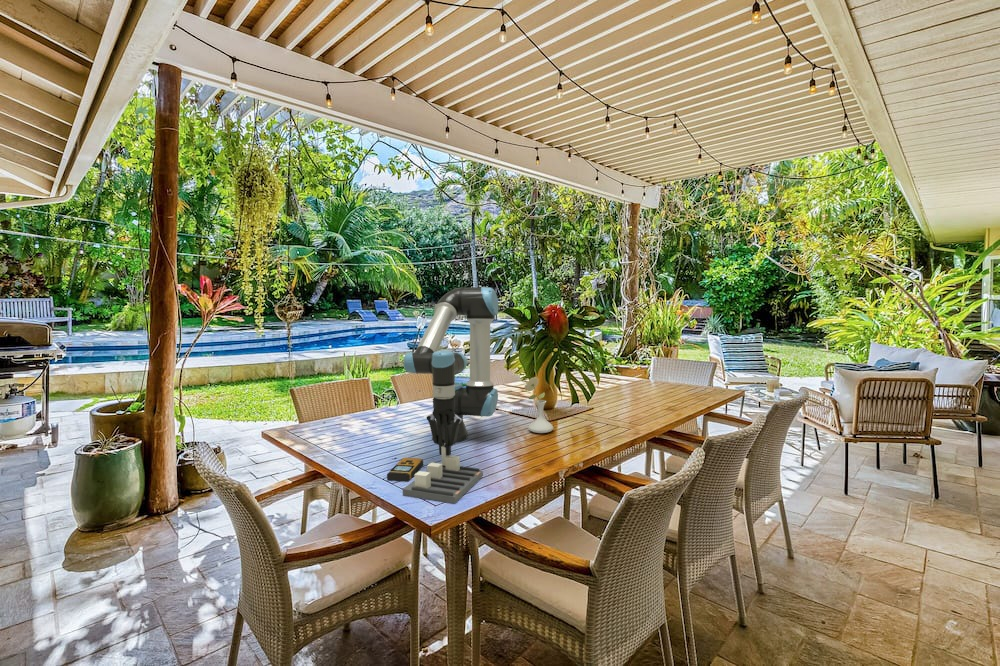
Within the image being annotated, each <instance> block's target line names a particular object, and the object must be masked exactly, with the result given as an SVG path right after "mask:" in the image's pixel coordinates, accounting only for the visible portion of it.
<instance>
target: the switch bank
mask: <svg viewBox="0 0 1000 666" xmlns="http://www.w3.org/2000/svg"><path fill="white" fill-rule="evenodd" d="M442 474H443V477H442V478H441V479H436V478H431V487H430V488H428V489H427V488H420V487H415V479H414V480H413V481H411V482H410V483H409V484H408V485H406V486H405V487H404V488H402V496H404V497H405V496H406V497H411V498H418V499H423V500H429V501H434V502H435V501H437V502H442V503H447V504H448V503H449V504H454V505H455V504H457V502H458V501H459V500H461V498H463V496H465V494H467V493H468V492H469V491H468V490H469V489H470V488H471V487H472V486H473V485H474V484H475V483H476V482H477V481H478V480H479V479H480V478H481V477H482V476H483V477H484V470H481V469H480V468H476V467H468V466H464V465H463V466H461V465H460V470H459V471H453V470H446V466H444V465H442ZM483 477H482V478H483ZM482 478H481V479H482ZM481 479H480V480H481ZM480 480H479V481H480ZM479 481H478V482H479ZM478 482H477V483H478ZM477 483H476V484H477ZM476 484H475V485H476ZM475 485H474V486H475ZM474 486H473V487H474ZM473 487H472V488H473ZM472 488H471V489H472ZM471 489H470V490H471ZM467 491H468V492H467Z"/></svg>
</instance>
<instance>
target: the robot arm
mask: <svg viewBox="0 0 1000 666" xmlns="http://www.w3.org/2000/svg"><path fill="white" fill-rule="evenodd" d="M435 304H436V305H435V307H434V309H433V310H434V314H433V315H432V318H431V320H430V322H429V323H428V326H427V328H426V330H425V332H424V334H423V335H422V338H421V340H420V341H419V342H418V346H417V347H416V349H415V351H411V352H407V353H406V354H405V356H404V357H403V368H404V370H405V371H406V372H407V373H408V374H409V373H410V374H416V375H417V374H425V375H427V374H429V375H432V376H431V377H432V396H433V398H432V407H433V410H432V412H431V414H429V415H427V416H426V420H427V421H428V423H429V427H430V428H429V429H430V431H431V440H432V441H433V443H434V445H435V444H436V445H438V448H439V449H438V451H439V452H438V453H439V456H441V464H442V465H444V466H446V465H445V458H446V457H448V456H449V455H450V456H452V455H451V454H452V446H454V445H455V444H457V443H461V442H463V441H465V440H467V439H468V431H467V428H466V425H465V422H464V416H468V417H469V416H473V417H481V418H482V417H491V416H493V414H494V413H495V412H496V409H497V405H498V400H499V393H498V389H497V388H494V387H495V386H494V383H493V382H492V381H491V324H492V322H493V321H494V320H495V316H497V315H498V314H499V310H500V309H499V301H498V296H497V293H496V290H495V289H494V288H493V287H489V286H478V287H477V286H476V287H474V286H473V287H455V288H453V289H451V290H449V291H448V292H447V293H445V294H444V295H443V296H441V298H440V299H439V300H438V301H437V303H435ZM457 316H465V317H466V321H467V322H468V323H469V379H468V380H469V381H468V382H466V384H465V387H463V384H462V383H457V382H456V381H455V380H456V379H455V378H456V375H458V374H460V373H462V372H463V371H465V369H466V367H467V365H468V362H467V361H468V360H467V358H466V355H464V354H463V353H461V352H455V351H454V352H453V351H451V350H439V349H440V347H441V344H442V343H443V340H444V338H445V336H446V334H447V332H448V330H449V328H450V326H451V323H452V322H453V321H454V320H455V319H456V318H457Z"/></svg>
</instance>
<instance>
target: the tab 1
mask: <svg viewBox="0 0 1000 666" xmlns="http://www.w3.org/2000/svg"><path fill="white" fill-rule="evenodd" d="M414 480H415V487H420V488H427V489H428V488H430V487H431V473H430V472H427V471H421V470H419V471H418V472H417V473H416V474H414Z"/></svg>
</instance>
